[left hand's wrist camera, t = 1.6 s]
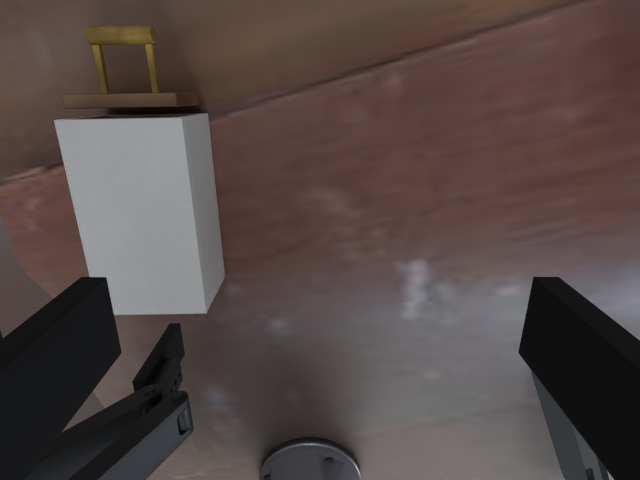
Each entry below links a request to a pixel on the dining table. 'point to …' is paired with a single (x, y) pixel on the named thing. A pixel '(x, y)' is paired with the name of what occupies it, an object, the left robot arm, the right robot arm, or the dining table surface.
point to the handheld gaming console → (569, 442)
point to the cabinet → (146, 208)
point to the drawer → (105, 99)
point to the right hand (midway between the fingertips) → (88, 340)
